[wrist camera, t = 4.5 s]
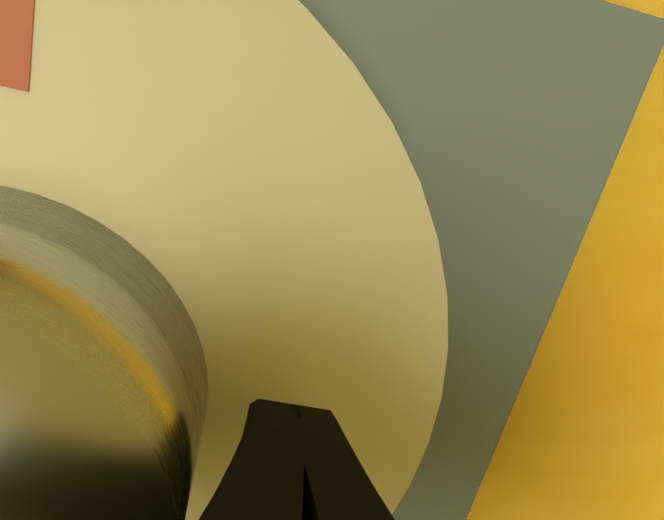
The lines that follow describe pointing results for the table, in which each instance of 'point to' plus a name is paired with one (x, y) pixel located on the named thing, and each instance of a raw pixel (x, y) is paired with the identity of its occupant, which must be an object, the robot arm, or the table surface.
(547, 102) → the base plate
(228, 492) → the robot arm
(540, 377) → the table surface
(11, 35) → the turntable
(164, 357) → the cover
